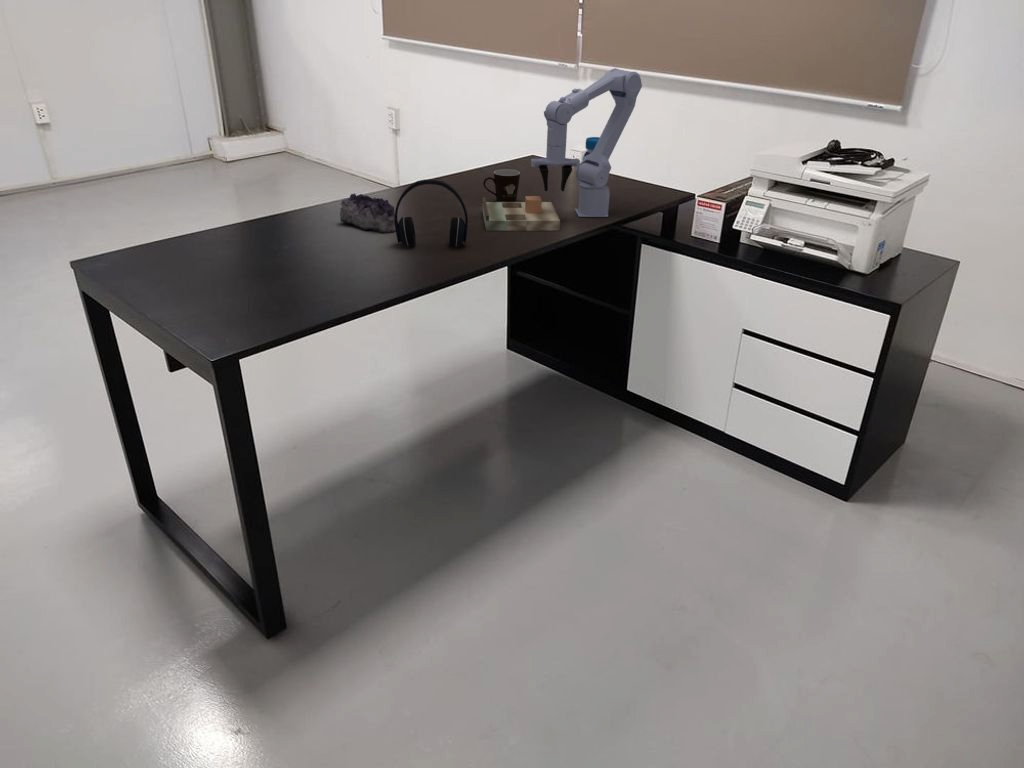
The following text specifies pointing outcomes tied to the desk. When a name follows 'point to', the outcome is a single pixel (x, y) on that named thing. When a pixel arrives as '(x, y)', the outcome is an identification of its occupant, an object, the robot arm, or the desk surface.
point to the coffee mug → (505, 185)
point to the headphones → (406, 226)
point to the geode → (368, 213)
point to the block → (533, 204)
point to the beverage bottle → (590, 145)
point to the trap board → (518, 217)
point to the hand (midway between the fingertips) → (554, 190)
